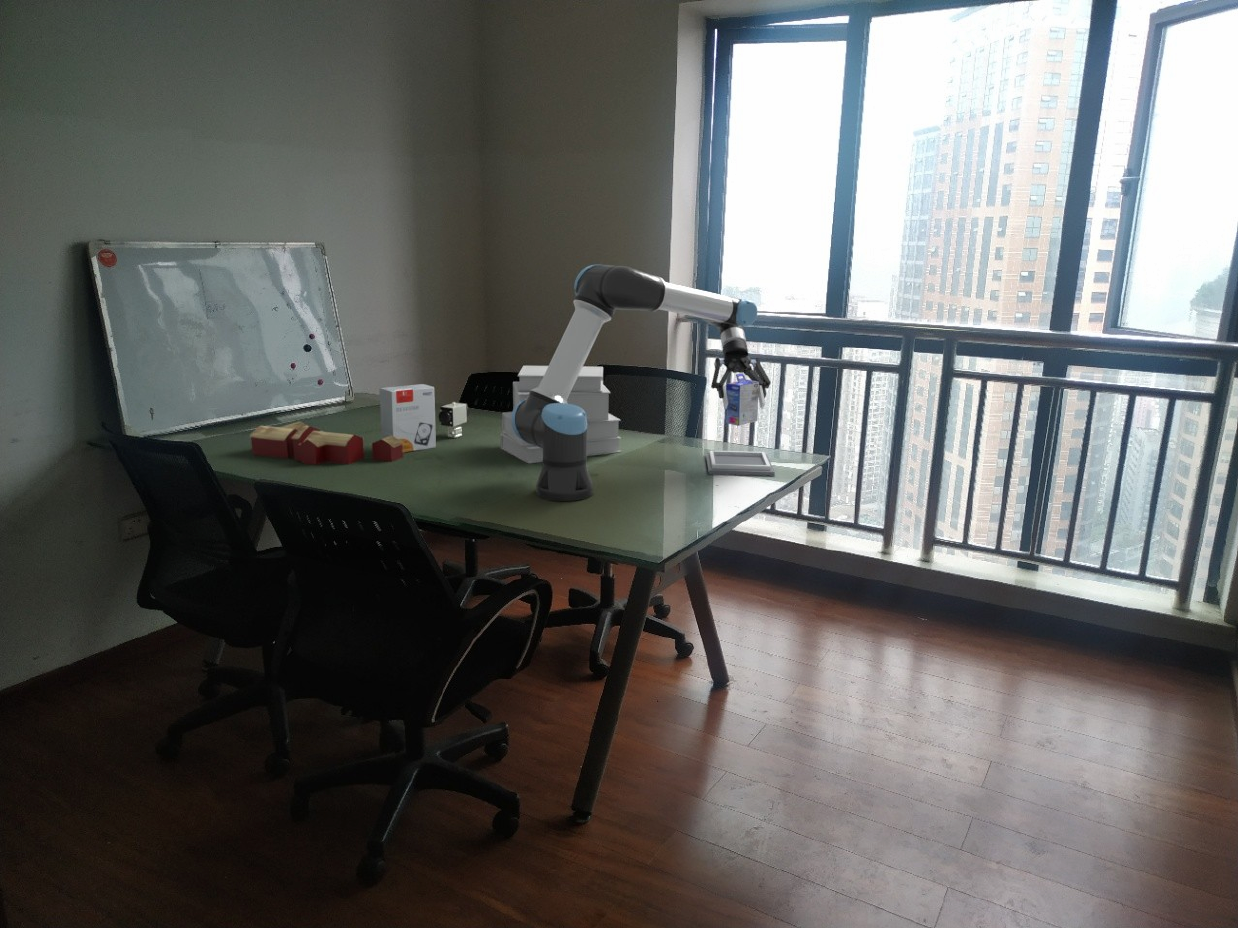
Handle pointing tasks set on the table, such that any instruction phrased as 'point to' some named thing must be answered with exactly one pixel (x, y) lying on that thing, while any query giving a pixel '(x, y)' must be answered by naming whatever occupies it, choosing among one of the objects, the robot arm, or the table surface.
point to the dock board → (739, 463)
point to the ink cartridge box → (742, 401)
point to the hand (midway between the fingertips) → (744, 406)
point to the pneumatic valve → (454, 417)
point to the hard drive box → (409, 415)
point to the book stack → (583, 395)
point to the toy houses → (319, 445)
